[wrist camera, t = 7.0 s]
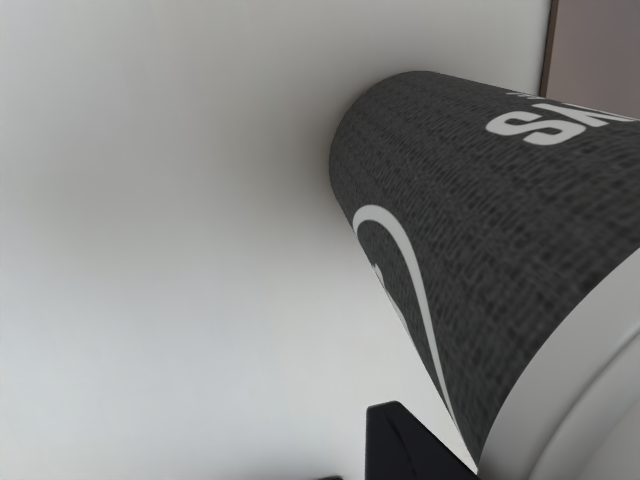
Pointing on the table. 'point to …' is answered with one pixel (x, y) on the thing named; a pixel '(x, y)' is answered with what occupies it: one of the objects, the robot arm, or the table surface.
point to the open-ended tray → (594, 55)
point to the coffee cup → (507, 264)
